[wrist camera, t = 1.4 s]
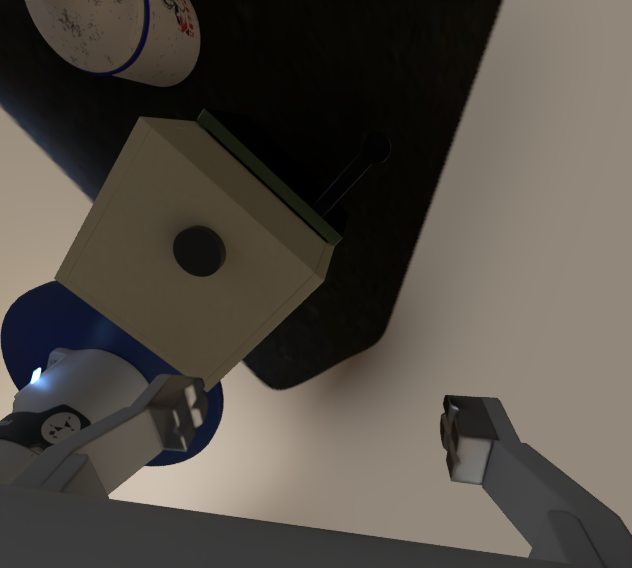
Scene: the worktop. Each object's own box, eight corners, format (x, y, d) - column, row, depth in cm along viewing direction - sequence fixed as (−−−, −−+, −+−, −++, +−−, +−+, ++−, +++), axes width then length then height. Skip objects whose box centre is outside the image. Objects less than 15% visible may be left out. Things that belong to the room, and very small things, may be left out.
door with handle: (294, 45, 28) (260, 2, 19) (402, 158, 30) (416, 167, 22) (174, 220, 36) (112, 247, 27) (266, 297, 39) (237, 346, 30)
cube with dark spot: (241, 125, 32) (130, 115, 17) (342, 221, 35) (322, 286, 20) (172, 224, 38) (43, 283, 23) (264, 301, 40) (202, 400, 25)
